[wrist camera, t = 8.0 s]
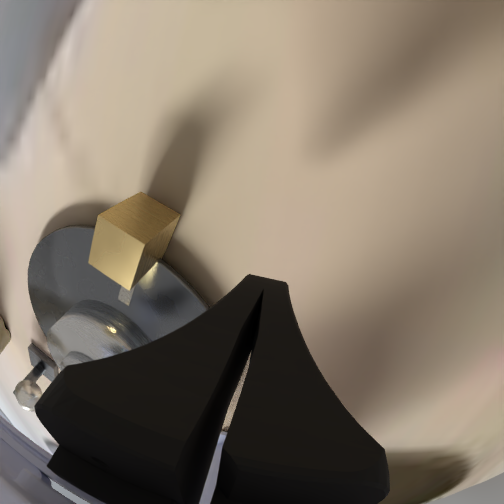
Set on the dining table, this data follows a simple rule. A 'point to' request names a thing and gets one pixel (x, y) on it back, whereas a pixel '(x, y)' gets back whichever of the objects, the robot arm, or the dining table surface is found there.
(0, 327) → the flower pot
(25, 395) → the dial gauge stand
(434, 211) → the dining table surface
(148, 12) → the dining table surface
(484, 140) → the dining table surface
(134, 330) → the cover
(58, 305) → the turntable
